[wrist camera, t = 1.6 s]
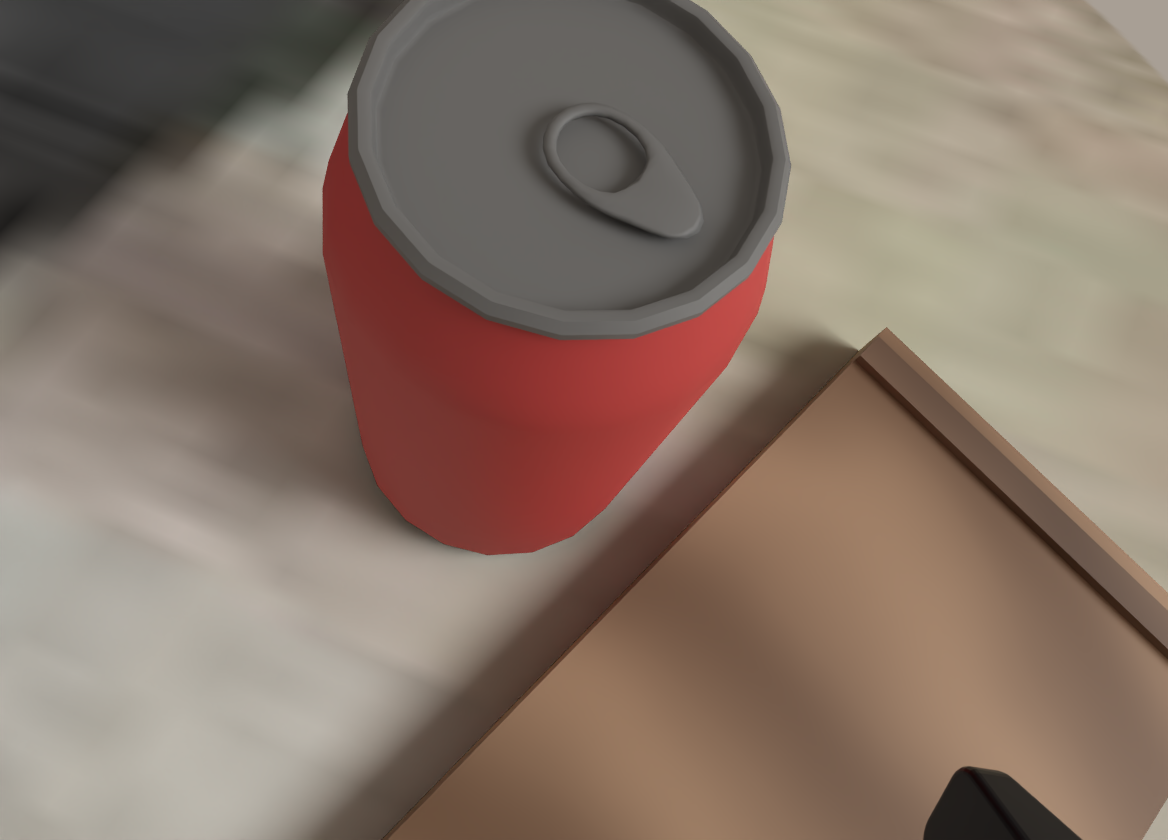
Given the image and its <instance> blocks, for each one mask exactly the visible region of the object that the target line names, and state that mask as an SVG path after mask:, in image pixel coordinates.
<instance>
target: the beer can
mask: <svg viewBox="0 0 1168 840" xmlns="http://www.w3.org/2000/svg"><path fill="white" fill-rule="evenodd" d="M790 169H791V163H790V157H789V152H788V147H787V142H786V137H785V131H784V126H783V121H782V116H781V110H780V107H779V106H778V104H777V102H776V100H775V98H774V96H773V95H772V93H771V91H770V89H769V87H768V86H767V84H766V82H765V80H764V78H763V76H762V75H761V73H760V71H759V69H758V67H757V65H756V64H755V62H754V60H753V58H752V56H751V55H750V54H749V53H748V52H747V51H746V50H745V49H744V48H743V47H742V46H741V45H740V44H739V43H738V42H737V41H736V40H735V39H734V38H733V37H732V36H731V35H730V34H729V33H728V32H727V31H726V30H725V29H724V28H723V27H722V25H721V24H720V23H719V22H718V21H717V20H716V19H715V18H714V17H713V16H712V15H711V14H710V13H709V12H708V11H706V10H705V9H703V8H702V7H700V6H698V5H697V4H695V3H693V2H692V1H690V0H404V1H403V2H402V4H401V5H400V6H399V7H398V8H397V9H396V10H395V11H394V12H393V13H392V14H391V15H390V16H389V17H388V19H387V20H386V21H385V22H384V23H383V24H382V25H381V26H380V27H379V28H378V29H377V30H376V31H375V32H374V34H373V35H372V36H371V37H370V38H369V40H368V43H367V45H366V48H365V51H364V53H363V56H362V58H361V61H360V63H359V66H358V68H357V71H356V73H355V76H354V78H353V81H352V84H351V86H350V89H349V91H348V113H347V115H346V118H345V120H344V123H343V126H342V128H341V131H340V133H339V136H338V138H337V141H336V144H335V146H334V149H333V151H332V154H331V156H330V159H329V162H328V167H327V171H326V176H325V180H324V185H323V257H324V262H325V266H326V271H327V276H328V281H329V286H330V291H331V295H332V300H333V305H334V310H335V315H336V320H337V324H338V329H339V334H340V339H341V344H342V349H343V353H344V358H345V363H346V368H347V373H348V377H349V382H350V387H351V392H352V397H353V402H354V406H355V411H356V416H357V421H358V426H359V431H360V435H361V440H362V445H363V448H364V451H365V453H366V456H367V459H368V461H369V464H370V467H371V469H372V472H373V475H374V478H375V480H376V483H377V486H378V487H379V488H380V489H381V491H382V492H383V493H384V494H385V495H386V497H387V498H388V499H389V500H390V502H391V503H392V504H393V505H394V506H395V508H396V509H397V510H398V511H399V513H400V514H401V515H402V516H403V517H404V519H405V520H406V521H408V522H410V523H411V524H413V525H414V526H416V527H418V528H419V529H421V530H422V531H424V532H425V533H427V534H429V535H430V536H432V537H433V538H435V539H437V540H438V541H440V542H441V543H443V544H446V545H450V546H454V547H458V548H462V549H465V550H469V551H473V552H477V553H481V554H485V555H497V554H513V553H529V552H534V551H537V550H539V549H542V548H544V547H547V546H549V545H552V544H554V543H557V542H559V541H562V540H564V539H567V538H569V537H572V536H573V535H574V534H576V533H577V532H578V531H579V530H580V529H582V528H583V527H584V526H585V525H586V524H587V523H589V522H590V521H591V520H592V519H593V518H595V517H596V516H597V515H598V514H599V513H601V512H602V511H603V510H604V509H605V508H606V507H607V506H608V504H609V503H610V502H611V501H612V500H613V499H614V497H615V496H616V495H617V494H618V493H619V492H620V490H621V489H622V488H623V487H624V486H625V485H626V483H627V482H628V481H629V480H630V479H631V478H632V476H633V475H634V474H635V473H636V472H637V471H638V469H639V468H640V467H641V466H642V465H643V464H644V463H645V461H646V460H647V459H648V458H649V457H650V456H651V454H652V453H653V452H654V451H655V450H656V449H657V447H658V446H659V445H660V444H661V443H662V442H663V440H664V439H665V438H666V437H667V436H668V435H669V433H670V432H671V431H672V430H673V429H674V428H675V426H676V425H677V424H678V423H679V422H680V421H681V419H682V418H683V417H684V416H685V415H686V414H687V412H688V411H689V410H690V409H691V408H692V407H693V405H694V404H695V403H696V402H697V401H698V400H699V398H700V397H701V396H702V395H703V394H704V393H705V391H706V390H707V389H708V388H709V387H710V386H711V384H712V383H713V382H714V381H715V380H716V379H717V377H718V376H719V375H720V374H721V373H722V372H723V370H724V369H725V368H726V367H727V365H728V363H729V362H730V360H731V358H732V357H733V355H734V353H735V351H736V350H737V348H738V346H739V345H740V343H741V341H742V339H743V338H744V336H745V334H746V332H747V331H748V329H749V327H750V326H751V324H752V322H753V320H754V319H755V317H756V315H757V313H758V310H759V307H760V304H761V300H762V297H763V294H764V291H765V287H766V282H767V276H768V270H769V263H770V257H771V251H772V245H773V239H774V235H775V233H776V231H777V230H778V228H779V226H780V225H781V223H782V218H783V212H784V206H785V200H786V194H787V188H788V182H789V175H790Z"/></svg>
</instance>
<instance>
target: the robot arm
mask: <svg viewBox="0 0 1168 840" xmlns="http://www.w3.org/2000/svg"><path fill="white" fill-rule="evenodd" d="M923 840H1082V839H1081V838H1080V837H1079V836H1078V835H1077V834H1076V833H1074V832H1073V831H1072V830H1071V829H1070V828H1069V827H1068V826H1066V825H1065V824H1064V823H1063V822H1062V821H1061V820H1060V819H1059V818H1057V817H1056V816H1055V815H1054V814H1053V813H1052V812H1051V811H1049V810H1048V809H1047V808H1046V807H1045V806H1044V805H1043V804H1042V803H1040V802H1039V801H1038V800H1037V799H1036V798H1035V797H1034V796H1032V795H1031V794H1030V793H1029V792H1028V791H1027V790H1026V789H1025V788H1023V787H1022V786H1021V785H1020V784H1019V783H1018V782H1017V781H1015V780H1014V779H1013V778H1012V777H1011V776H1009V775H1008V774H1006V773H1004V772H1001V771H997V770H991V769H985V768H979V767H973V766H965V767H961V768H960V769H958V770H957V771H956V772H955V773H954V774H953V776H952V777H951V779H950V781H949V783H948V785H947V786H946V788H945V790H944V792H943V794H942V795H941V797H940V799H939V801H938V803H937V804H936V806H935V808H934V810H933V811H932V813H931V815H930V817H929V819H928V821H927V823H926V826H925V830H924V836H923Z"/></svg>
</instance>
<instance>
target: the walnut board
mask: <svg viewBox="0 0 1168 840" xmlns="http://www.w3.org/2000/svg"><path fill="white" fill-rule="evenodd" d="M965 766H973V767H979V768H985V769H991V770H997V771H1001V772H1004V773H1006V774H1008V775H1009V776H1011V777H1012V778H1013V779H1014V780H1015V781H1017V782H1018V783H1019V784H1020V785H1021V786H1022V787H1023V788H1025V789H1026V790H1027V791H1028V792H1029V793H1030V794H1031V795H1032V796H1034V797H1035V798H1036V799H1037V800H1038V801H1039V802H1040V803H1042V804H1043V805H1044V806H1045V807H1046V808H1047V809H1048V810H1049V811H1051V812H1052V813H1053V814H1054V815H1055V816H1056V817H1057V818H1059V819H1060V820H1061V821H1062V822H1063V823H1064V824H1065V825H1066V826H1068V827H1069V828H1070V829H1071V830H1072V831H1073V832H1074V833H1076V834H1077V835H1078V836H1079V837H1080V838H1081V839H1082V840H1142V839H1143V837H1144V836H1145V834H1146V832H1147V831H1148V829H1149V827H1150V826H1151V824H1152V823H1153V821H1154V819H1155V818H1156V816H1157V814H1158V813H1159V811H1160V809H1161V808H1162V806H1163V804H1164V803H1165V801H1166V799H1167V798H1168V593H1167V592H1166V591H1165V590H1164V589H1163V588H1162V587H1161V586H1160V585H1159V584H1158V583H1157V582H1156V581H1155V580H1153V579H1152V578H1151V577H1150V576H1149V575H1148V574H1147V573H1146V572H1145V571H1144V570H1143V569H1142V568H1141V567H1140V566H1139V565H1138V564H1137V563H1135V562H1134V561H1133V560H1132V559H1131V558H1130V557H1129V556H1128V555H1127V554H1126V553H1125V552H1124V551H1123V550H1122V549H1121V548H1120V547H1119V546H1118V545H1116V544H1115V543H1114V542H1113V541H1112V540H1111V539H1110V538H1109V537H1108V536H1107V535H1106V534H1105V533H1104V532H1103V531H1102V530H1101V529H1100V528H1098V527H1097V526H1096V525H1095V524H1094V523H1093V522H1092V521H1091V520H1090V519H1089V518H1088V517H1087V516H1086V515H1085V514H1084V513H1083V512H1082V511H1080V510H1079V509H1078V508H1077V507H1076V506H1075V505H1074V504H1073V503H1072V502H1071V501H1070V500H1069V499H1068V498H1067V497H1066V496H1065V495H1064V494H1062V493H1061V492H1060V491H1059V490H1058V489H1057V488H1056V487H1055V486H1054V485H1053V484H1052V483H1051V482H1050V481H1049V480H1048V479H1047V478H1046V477H1045V476H1043V475H1042V474H1041V473H1040V472H1039V471H1038V470H1037V469H1036V468H1035V467H1034V466H1033V465H1032V464H1031V463H1030V462H1029V461H1028V460H1027V459H1025V458H1024V457H1023V456H1022V455H1021V454H1020V453H1019V452H1018V451H1017V450H1016V449H1015V448H1014V447H1013V446H1012V445H1011V444H1010V443H1009V442H1007V441H1006V440H1005V439H1004V438H1003V437H1002V436H1001V435H1000V434H999V433H998V432H997V431H996V430H995V429H994V428H993V427H992V426H991V425H990V424H988V423H987V422H986V421H985V420H984V419H983V418H982V417H981V416H980V415H979V414H978V413H977V412H976V411H975V410H974V409H973V408H972V407H970V406H969V405H968V404H967V403H966V402H965V401H964V400H963V399H962V398H961V397H960V396H959V395H958V394H957V393H956V392H955V391H954V390H952V389H951V388H950V387H949V386H948V385H947V384H946V383H945V382H944V381H943V380H942V379H941V378H940V377H939V376H938V375H937V374H936V373H935V372H933V371H932V370H931V369H930V368H929V367H928V366H927V365H926V364H925V363H924V362H923V361H922V360H921V359H920V358H919V357H918V356H917V355H915V354H914V353H913V352H912V351H911V350H910V349H909V348H908V347H907V346H906V345H905V344H904V343H903V342H902V341H901V340H900V339H899V338H897V337H896V336H895V335H894V334H893V333H892V332H891V331H890V330H889V329H888V328H887V327H886V328H885V329H884V330H883V331H882V332H880V333H879V334H878V335H877V336H876V337H875V338H873V339H872V340H871V341H870V342H869V343H867V344H866V345H865V346H864V347H863V348H862V349H860V350H859V351H858V352H857V353H856V355H855V356H854V357H853V358H852V359H851V360H850V361H849V362H848V363H847V364H846V365H845V366H844V367H843V368H842V369H841V370H840V371H839V372H838V373H837V374H836V375H835V376H834V377H833V378H832V379H831V380H830V381H829V382H828V383H827V384H826V385H825V386H824V387H823V388H822V389H821V390H820V391H819V392H818V393H817V394H816V395H815V396H814V398H813V399H812V400H811V401H810V402H809V403H808V404H807V405H806V406H805V407H804V408H803V409H802V410H801V411H800V412H799V413H798V414H797V415H796V416H795V417H794V418H793V419H792V420H791V421H790V422H789V423H788V424H787V425H786V426H785V427H784V428H783V429H782V430H781V431H780V432H779V433H778V434H777V435H776V436H775V437H774V438H773V439H772V441H771V442H770V443H769V444H768V445H767V446H766V447H765V448H764V449H763V450H762V451H761V452H760V453H759V454H758V455H757V456H756V457H755V458H754V459H753V460H752V461H751V462H750V463H749V464H748V465H747V466H746V467H745V468H744V469H743V470H742V471H741V472H740V473H739V474H738V475H737V476H736V477H735V478H734V479H733V480H732V481H731V482H730V484H729V485H728V486H727V487H726V488H725V489H724V490H723V491H722V492H721V493H720V494H719V495H718V496H717V497H716V498H715V499H714V500H713V501H712V502H711V503H710V504H709V505H708V506H707V507H706V508H705V509H704V510H703V511H702V512H701V513H700V514H699V515H698V516H697V517H696V518H695V519H694V520H693V521H692V522H691V523H690V524H689V526H688V527H687V528H686V529H685V530H684V531H683V532H682V533H681V534H680V535H679V536H678V537H677V538H676V539H675V540H674V541H673V542H672V543H671V544H670V545H669V546H668V547H667V548H666V549H665V550H664V551H663V552H662V553H661V554H660V555H659V556H658V557H657V558H656V559H655V560H654V561H653V562H652V563H651V564H650V565H649V566H648V567H647V569H646V570H645V571H644V572H643V573H642V574H641V575H640V576H639V577H638V578H637V579H636V580H635V581H634V582H633V583H632V584H631V585H630V586H629V587H628V588H627V589H626V590H625V591H624V592H623V593H622V594H621V595H620V596H619V597H618V598H617V599H616V600H615V601H614V602H613V603H612V604H611V605H610V606H609V607H608V608H607V609H606V610H605V612H604V613H603V614H602V615H601V616H600V617H599V618H598V619H597V620H596V621H595V622H594V623H593V624H592V625H591V626H590V627H589V628H588V629H587V630H586V631H585V632H584V633H583V634H582V635H581V636H580V637H579V638H578V639H577V640H576V641H575V642H574V643H573V644H572V645H571V646H570V647H569V648H568V649H567V650H566V651H565V652H564V653H563V655H562V656H561V657H560V658H559V659H558V660H557V661H556V662H555V663H554V664H553V665H552V666H551V667H550V668H549V669H548V670H547V671H546V672H545V673H544V674H543V675H542V676H541V677H540V678H539V679H538V680H537V681H536V682H535V683H534V684H533V685H532V686H531V687H530V688H529V689H528V690H527V691H526V692H525V693H524V694H523V695H522V697H521V698H520V699H519V700H518V701H517V702H516V703H515V704H514V705H513V706H512V707H511V708H510V709H509V710H508V711H507V712H506V713H505V714H504V715H503V716H502V717H501V718H500V719H499V720H498V721H497V722H496V723H495V724H494V725H493V726H492V727H491V728H490V729H489V730H488V731H487V732H486V733H485V734H484V735H483V736H482V737H481V738H480V740H479V741H478V742H477V743H476V744H475V745H474V746H473V747H472V748H471V749H470V750H469V751H468V752H467V753H466V754H465V755H464V756H463V757H462V758H461V759H460V760H459V761H458V762H457V763H456V764H455V765H454V766H453V767H452V768H451V769H450V770H449V771H448V772H447V773H446V774H445V775H444V776H443V777H442V778H441V779H440V780H439V781H438V783H437V784H436V785H435V786H434V787H433V788H432V789H431V790H430V791H429V792H428V793H427V794H426V795H425V796H424V797H423V798H422V799H421V800H420V801H419V802H418V803H417V804H416V805H415V806H414V807H413V808H412V809H411V810H410V811H409V812H408V813H407V814H406V815H405V816H404V817H403V818H402V819H401V820H400V821H399V822H398V823H397V824H396V826H395V827H394V828H393V829H392V830H391V831H390V832H389V833H388V834H387V835H386V836H385V837H384V838H383V839H382V840H923V836H924V830H925V826H926V823H927V821H928V819H929V817H930V815H931V813H932V811H933V810H934V808H935V806H936V804H937V803H938V801H939V799H940V797H941V795H942V794H943V792H944V790H945V788H946V786H947V785H948V783H949V781H950V779H951V777H952V776H953V774H954V773H955V772H956V771H957V770H958V769H960V768H961V767H965Z"/></svg>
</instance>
